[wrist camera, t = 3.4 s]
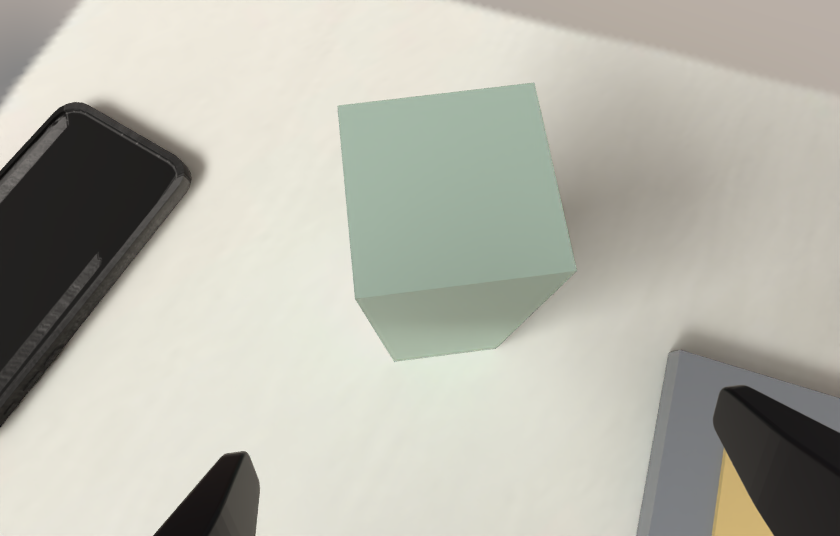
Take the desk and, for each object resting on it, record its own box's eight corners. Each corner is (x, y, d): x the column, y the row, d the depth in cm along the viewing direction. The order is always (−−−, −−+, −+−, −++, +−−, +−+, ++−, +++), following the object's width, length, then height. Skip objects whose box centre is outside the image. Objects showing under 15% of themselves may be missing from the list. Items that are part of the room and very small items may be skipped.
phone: (-173, 358, 21) (69, 94, 24) (-143, 361, 22) (84, 107, 25) (-39, 461, 20) (195, 167, 23) (-15, 458, 21) (206, 178, 24)
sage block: (495, 348, 21) (576, 271, 10) (394, 361, 21) (355, 298, 10) (479, 252, 22) (533, 82, 11) (383, 264, 22) (337, 105, 11)
